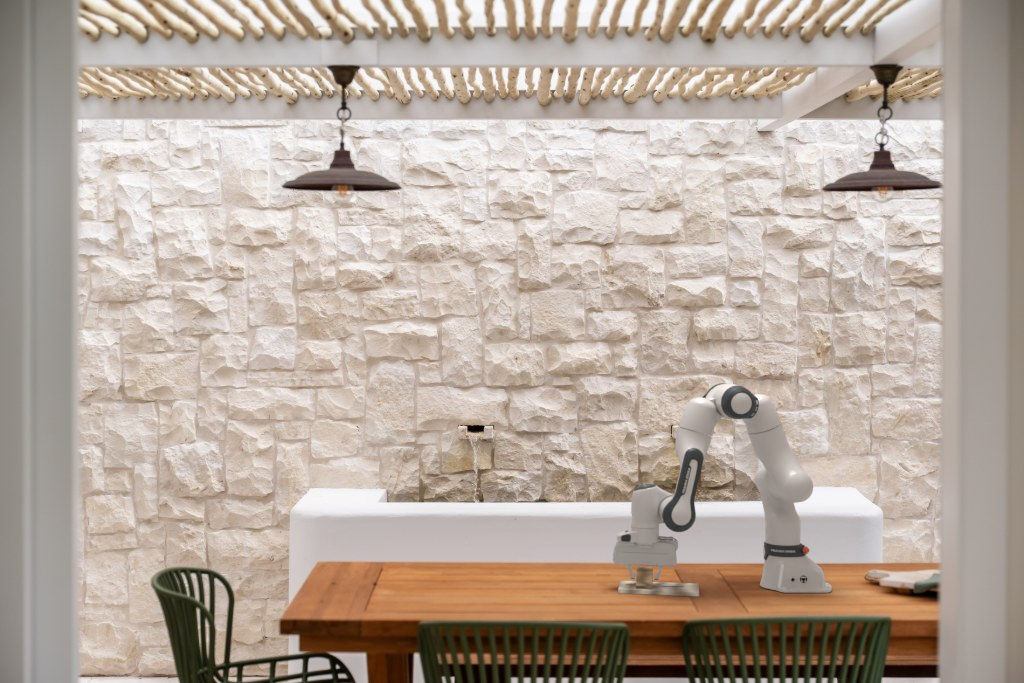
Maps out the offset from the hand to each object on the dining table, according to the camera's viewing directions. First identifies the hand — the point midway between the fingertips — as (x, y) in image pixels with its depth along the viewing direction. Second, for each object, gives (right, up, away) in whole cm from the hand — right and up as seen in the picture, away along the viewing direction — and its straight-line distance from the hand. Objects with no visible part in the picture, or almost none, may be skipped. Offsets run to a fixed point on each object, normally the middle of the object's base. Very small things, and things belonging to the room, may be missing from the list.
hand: (644, 579), depth 352 cm
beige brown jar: (0, -2, 0) cm, 2 cm away
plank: (+4, -3, -1) cm, 6 cm away
